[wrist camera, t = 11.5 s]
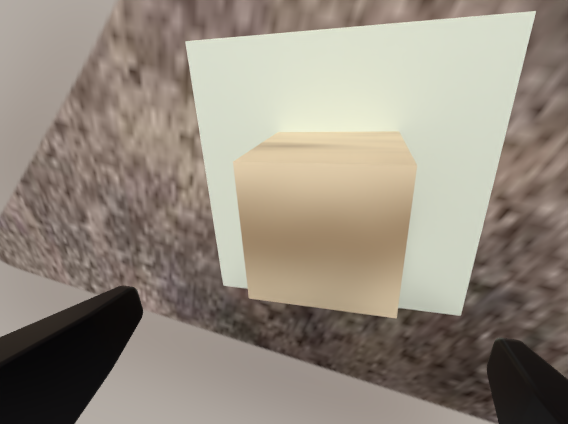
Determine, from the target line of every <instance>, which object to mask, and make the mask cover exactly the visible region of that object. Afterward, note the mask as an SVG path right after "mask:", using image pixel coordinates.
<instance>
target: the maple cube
mask: <svg viewBox="0 0 568 424" xmlns="http://www.w3.org/2000/svg"><path fill="white" fill-rule="evenodd" d="M233 167H234V176H235V184H236V193H237V201H238V210H239V218H240V227H241V235H242V244H243V252H244V261H245V269H246V278H247V286H248V295H249V299H257V300H264V301H272V302H279V303H286V304H294V305H301V306H309V307H316V308H323V309H331V310H338V311H346V312H353V313H360V314H368V315H375V316H383V317H390V318H397V312H398V304H399V297H400V289H401V282H402V275H403V267H404V260H405V252H406V245H407V238H408V230H409V223H410V215H411V208H412V201H413V193H414V186H415V178H416V171H417V164H416V162H415V160H414V158H413V156H412V154H411V153H410V151H409V149H408V147H407V145H406V143H405V141H404V139H403V137H402V136H401V134H400V132H399V131H379V132H277V133H276V134H274V135H273V136H271V137H270V138H268V139H267V140H265V141H264V142H262V143H261V144H259V145H258V146H256V147H254V148H253V149H251V150H250V151H248V152H247V153H245V154H244V155H242V156H241V157H239V158H238V159H236V160H235V161H233Z"/></svg>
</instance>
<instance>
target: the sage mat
mask: <svg viewBox="0 0 568 424" xmlns="http://www.w3.org/2000/svg"><path fill="white" fill-rule="evenodd" d="M535 13H536V11H532V12H521V13H509V14H498V15H486V16H474V17H463V18H451V19H439V20H428V21H416V22H405V23H393V24H381V25H370V26H358V27H346V28H335V29H323V30H312V31H300V32H288V33H277V34H265V35H254V36H242V37H230V38H219V39H207V40H195V41H185V42H186V48H187V55H188V61H189V68H190V74H191V80H192V87H193V93H194V100H195V106H196V113H197V119H198V125H199V132H200V138H201V145H202V151H203V158H204V164H205V170H206V177H207V183H208V190H209V196H210V202H211V209H212V215H213V222H214V228H215V235H216V241H217V247H218V254H219V260H220V267H221V273H222V279H223V285H224V286H232V287H240V288H247V289H248V286H247V278H246V269H245V261H244V252H243V244H242V235H241V227H240V218H239V210H238V201H237V193H236V184H235V176H234V167H233V161H235V160H236V159H238V158H239V157H241V156H242V155H244V154H245V153H247V152H248V151H250V150H251V149H253V148H254V147H256V146H258V145H259V144H261V143H262V142H264V141H265V140H267V139H268V138H270V137H271V136H273V135H274V134H276V133H277V132H379V131H399V132H400V134H401V136H402V137H403V139H404V141H405V143H406V145H407V147H408V149H409V151H410V153H411V154H412V156H413V158H414V160H415V162H416V164H417V171H416V178H415V186H414V193H413V201H412V208H411V215H410V223H409V230H408V238H407V245H406V252H405V260H404V267H403V275H402V282H401V289H400V297H399V304H398V308H404V309H412V310H419V311H427V312H435V313H443V314H451V315H459V316H461V312H462V308H463V304H464V300H465V296H466V292H467V288H468V284H469V280H470V276H471V272H472V268H473V264H474V260H475V256H476V252H477V248H478V244H479V240H480V236H481V232H482V228H483V223H484V219H485V215H486V211H487V207H488V203H489V199H490V195H491V191H492V187H493V183H494V179H495V175H496V171H497V167H498V163H499V159H500V155H501V151H502V147H503V143H504V139H505V135H506V130H507V126H508V122H509V118H510V114H511V110H512V106H513V102H514V98H515V94H516V90H517V86H518V82H519V78H520V74H521V70H522V66H523V62H524V58H525V54H526V50H527V46H528V42H529V38H530V33H531V29H532V25H533V21H534V17H535Z"/></svg>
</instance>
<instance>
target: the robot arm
mask: <svg viewBox="0 0 568 424" xmlns="http://www.w3.org/2000/svg"><path fill="white" fill-rule="evenodd" d="M142 315H143V308H142V304H141V301H140V298H139V294H138V291H137V289H136V288H134V287H130V286H119V287H116V288H114V289H112V290H109V291H107V292H105V293H102V294H100V295H98V296H95V297H93V298H91V299H89V300H86V301H84V302H81V303H79V304H77V305H74V306H72V307H70V308H67V309H65V310H63V311H61V312H58V313H56V314H53V315H51V316H49V317H47V318H44V319H42V320H40V321H37V322H35V323H32V324H30V325H28V326H25V327H23V328H21V329H18V330H16V331H14V332H11V333H9V334H7V335H4V336H2V337H0V424H75V422H76V421H77V419H78V418H79V417H80V415H81V413H82V412H83V411H84V409H85V408H86V406H87V405H88V404H89V402H90V401H91V399H92V398H93V396H94V395H95V393H96V392H97V390H98V389H99V388H100V386H101V385H102V383H103V382H104V380H105V379H106V378H107V376H108V374H109V373H110V371H111V370H112V368H113V367H114V365H115V363H116V361H117V360H118V358H119V356H120V355H121V353H122V351H123V350H124V348H125V346H126V344H127V342H128V341H129V339H130V337H131V336H132V334H133V332H134V330H135V329H136V327H137V325H138V323H139V322H140V320H141V318H142ZM487 375H488V380H489V384H490V388H491V392H492V397H493V401H494V405H495V409H496V414H497V418H498V422H499V424H568V379H567V378H565V377H564V376H563V375H562V374H561V373H559V372H558V371H557V370H556V369H554V368H553V367H552V366H551V365H550V364H548V363H547V362H546V361H545V360H544V359H542V358H541V357H540V356H539V355H537V354H536V353H535V352H534V351H533V350H531V349H530V348H529V347H528V346H527V345H525V344H524V343H523V342H521V341H519V340H514V339H507V338H497V339H496V340H495V342H494V345H493V348H492V351H491V354H490V357H489V360H488V364H487Z"/></svg>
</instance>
